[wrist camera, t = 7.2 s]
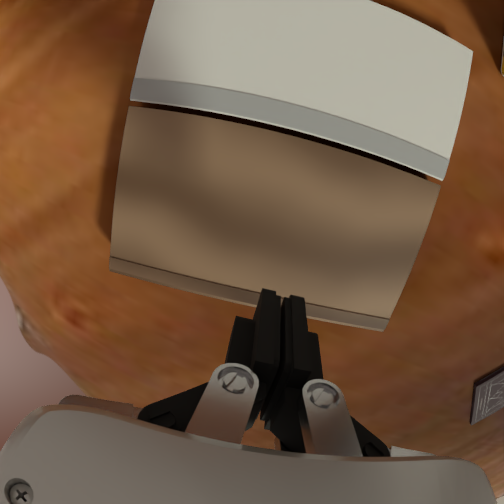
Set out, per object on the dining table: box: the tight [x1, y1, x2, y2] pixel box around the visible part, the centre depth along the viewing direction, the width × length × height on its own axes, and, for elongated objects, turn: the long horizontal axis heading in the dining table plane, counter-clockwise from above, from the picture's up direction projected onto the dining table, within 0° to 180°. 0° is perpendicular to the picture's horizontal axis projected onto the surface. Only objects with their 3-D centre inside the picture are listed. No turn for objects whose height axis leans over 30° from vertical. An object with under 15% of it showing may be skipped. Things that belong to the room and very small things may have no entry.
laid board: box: [130, 0, 473, 181], centre depth 14 cm, size 9×18×2 cm, turn 77°
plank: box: [109, 106, 441, 332], centre depth 18 cm, size 10×18×2 cm, turn 77°
